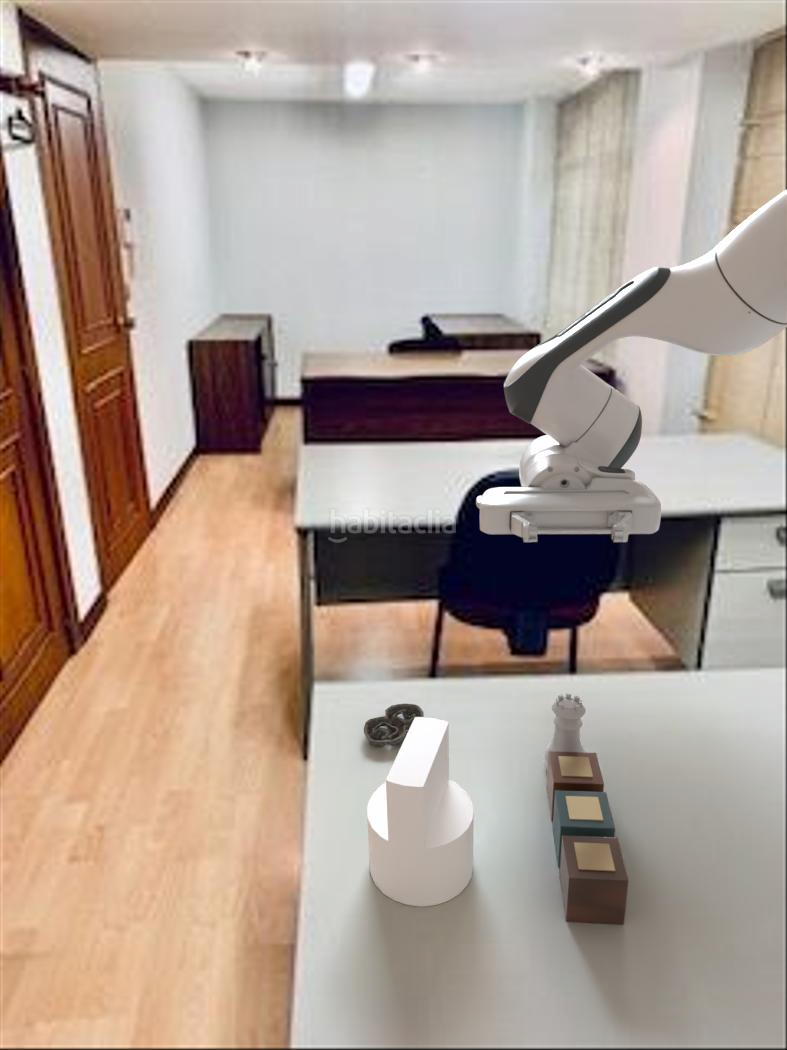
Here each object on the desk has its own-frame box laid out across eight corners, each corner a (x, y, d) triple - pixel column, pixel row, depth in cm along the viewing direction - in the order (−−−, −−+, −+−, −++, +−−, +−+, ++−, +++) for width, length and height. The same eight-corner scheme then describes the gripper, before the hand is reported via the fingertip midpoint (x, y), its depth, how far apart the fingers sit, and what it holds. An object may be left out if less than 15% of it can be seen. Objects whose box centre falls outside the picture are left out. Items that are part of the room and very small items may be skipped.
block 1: (593, 790, 74) (596, 751, 72) (600, 823, 70) (604, 783, 68) (546, 788, 74) (548, 750, 73) (551, 821, 70) (553, 781, 69)
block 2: (613, 879, 64) (617, 836, 62) (624, 924, 60) (628, 879, 58) (559, 877, 64) (562, 834, 63) (565, 921, 60) (568, 877, 58)
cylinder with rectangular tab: (460, 917, 61) (461, 796, 56) (355, 893, 63) (347, 775, 59) (482, 837, 69) (483, 725, 65) (387, 818, 71) (383, 710, 67)
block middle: (602, 831, 69) (606, 790, 67) (611, 870, 65) (615, 827, 63) (552, 829, 69) (554, 788, 68) (558, 867, 65) (560, 825, 64)
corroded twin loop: (434, 721, 85) (434, 713, 85) (387, 756, 80) (386, 748, 79) (400, 704, 88) (400, 697, 88) (353, 737, 83) (352, 729, 82)
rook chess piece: (534, 760, 78) (537, 694, 76) (570, 749, 80) (574, 683, 77) (559, 787, 75) (563, 718, 72) (596, 774, 76) (602, 706, 73)
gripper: (475, 471, 93) (477, 508, 81) (646, 469, 92) (676, 507, 79) (475, 519, 96) (477, 562, 83) (642, 518, 94) (670, 563, 81)
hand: (575, 535), depth 81 cm, fingers open, 8 cm apart
